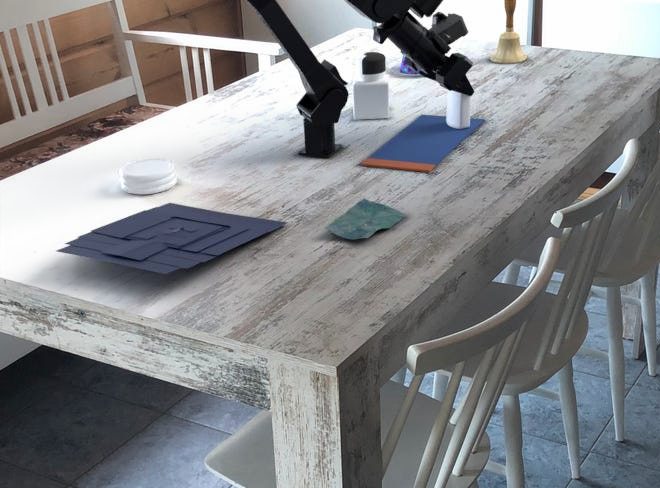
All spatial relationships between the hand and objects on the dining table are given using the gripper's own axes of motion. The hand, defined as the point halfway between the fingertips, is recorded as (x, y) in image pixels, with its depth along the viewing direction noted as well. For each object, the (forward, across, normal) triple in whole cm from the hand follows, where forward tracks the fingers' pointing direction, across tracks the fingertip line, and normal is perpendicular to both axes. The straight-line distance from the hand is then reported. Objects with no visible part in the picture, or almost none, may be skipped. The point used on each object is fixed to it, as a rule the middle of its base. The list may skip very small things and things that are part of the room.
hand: (465, 90), depth 198 cm
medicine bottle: (-4, +17, +14) cm, 22 cm away
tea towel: (-2, -5, +12) cm, 14 cm away
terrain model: (-20, -38, +30) cm, 52 cm away
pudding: (+11, +42, -1) cm, 44 cm away
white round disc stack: (-39, -2, +50) cm, 63 cm away
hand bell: (+27, +40, -17) cm, 51 cm away
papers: (-41, -32, +51) cm, 73 cm away
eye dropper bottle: (+4, 0, +6) cm, 7 cm away
